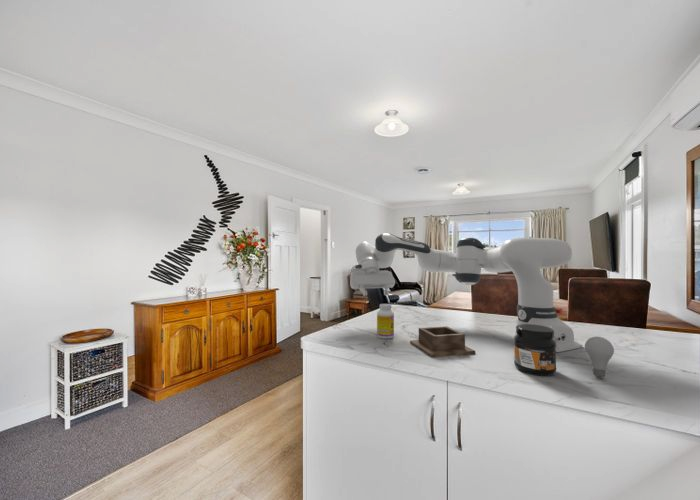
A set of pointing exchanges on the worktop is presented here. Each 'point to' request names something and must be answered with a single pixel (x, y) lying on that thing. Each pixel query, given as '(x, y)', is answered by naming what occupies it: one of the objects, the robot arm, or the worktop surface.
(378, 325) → the supplement bottle
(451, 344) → the bottle caddy
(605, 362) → the lightbulb
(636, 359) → the worktop surface
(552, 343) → the supplement container
